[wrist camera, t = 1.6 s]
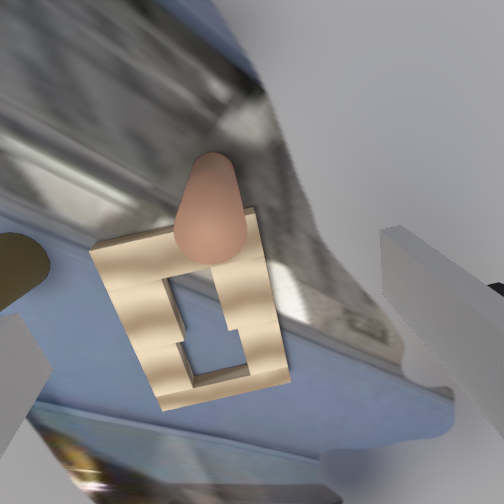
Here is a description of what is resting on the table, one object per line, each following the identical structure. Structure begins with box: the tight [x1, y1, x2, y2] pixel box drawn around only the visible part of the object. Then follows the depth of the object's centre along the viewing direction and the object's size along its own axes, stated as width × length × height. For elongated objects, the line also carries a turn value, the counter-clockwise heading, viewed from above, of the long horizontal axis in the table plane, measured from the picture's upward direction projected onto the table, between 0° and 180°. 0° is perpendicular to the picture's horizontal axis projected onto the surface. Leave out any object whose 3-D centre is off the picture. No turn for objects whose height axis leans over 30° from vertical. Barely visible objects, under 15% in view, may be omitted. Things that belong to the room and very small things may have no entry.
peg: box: [173, 152, 248, 265], centre depth 25 cm, size 4×4×15 cm
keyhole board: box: [89, 207, 291, 411], centre depth 38 cm, size 22×16×2 cm
